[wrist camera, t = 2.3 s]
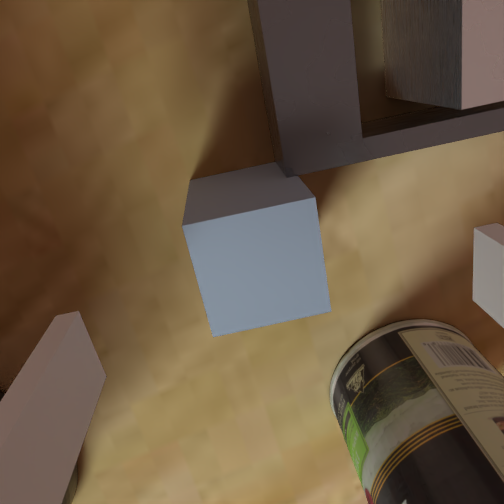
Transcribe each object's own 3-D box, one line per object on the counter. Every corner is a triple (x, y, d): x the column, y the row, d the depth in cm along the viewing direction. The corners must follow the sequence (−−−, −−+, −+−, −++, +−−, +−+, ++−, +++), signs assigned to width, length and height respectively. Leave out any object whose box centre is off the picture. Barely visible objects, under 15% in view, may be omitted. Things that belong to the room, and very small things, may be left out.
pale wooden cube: (386, 96, 21) (461, 109, 15) (378, -19, 19) (462, -61, 13) (483, 75, 21) (601, 79, 15) (486, -42, 19) (624, -96, 13)
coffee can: (340, 455, 31) (435, 732, 18) (316, 340, 27) (417, 595, 14) (479, 419, 31) (675, 673, 18) (477, 299, 27) (729, 517, 14)
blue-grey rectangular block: (212, 265, 24) (213, 337, 18) (189, 180, 22) (182, 226, 16) (298, 246, 24) (331, 311, 18) (284, 159, 22) (315, 197, 16)
